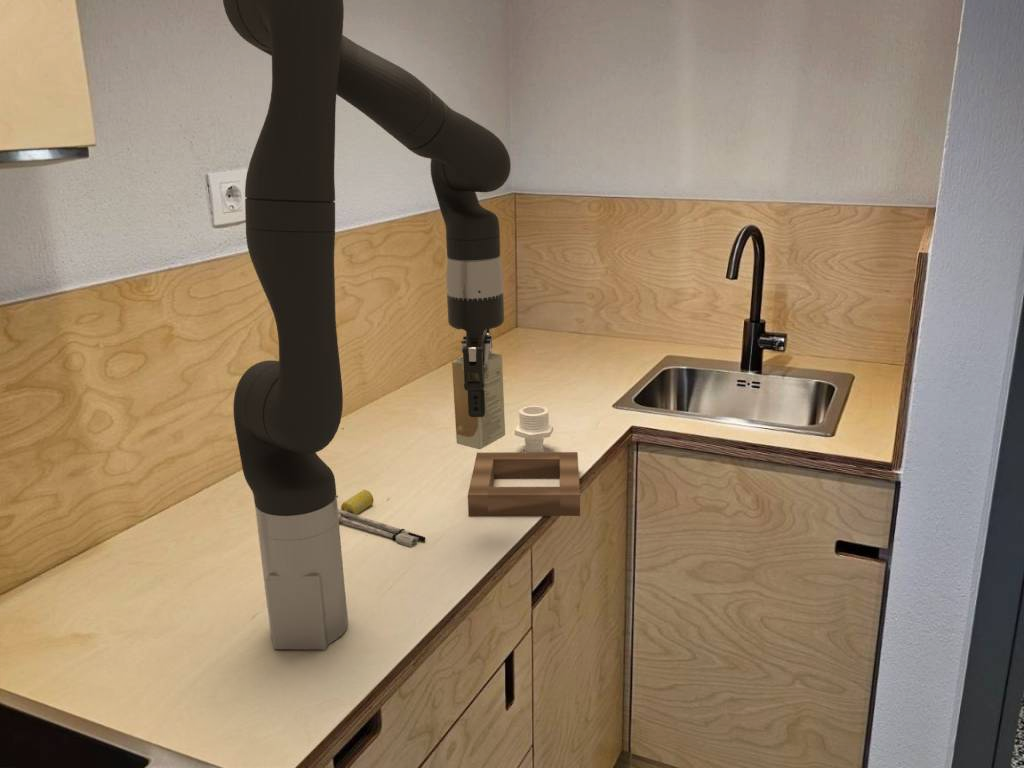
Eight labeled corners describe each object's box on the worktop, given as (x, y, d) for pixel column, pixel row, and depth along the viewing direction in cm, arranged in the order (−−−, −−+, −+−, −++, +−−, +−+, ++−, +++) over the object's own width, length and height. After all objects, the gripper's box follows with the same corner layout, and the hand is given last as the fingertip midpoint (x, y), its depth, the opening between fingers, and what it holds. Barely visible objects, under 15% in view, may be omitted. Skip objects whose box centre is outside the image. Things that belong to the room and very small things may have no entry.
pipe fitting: (559, 456, 159) (559, 413, 156) (521, 461, 157) (520, 418, 154) (547, 443, 164) (546, 402, 162) (510, 448, 162) (509, 407, 160)
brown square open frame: (580, 515, 136) (580, 494, 135) (468, 516, 137) (467, 495, 136) (577, 471, 152) (577, 452, 151) (477, 471, 153) (477, 452, 152)
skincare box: (482, 430, 130) (479, 349, 126) (506, 436, 127) (504, 353, 123) (454, 444, 125) (450, 360, 121) (478, 451, 122) (475, 365, 118)
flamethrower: (306, 485, 149) (261, 511, 141) (305, 471, 148) (259, 496, 140) (449, 528, 134) (407, 560, 126) (448, 513, 133) (406, 544, 125)
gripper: (499, 301, 112) (503, 424, 117) (506, 279, 126) (509, 390, 131) (440, 302, 113) (446, 425, 118) (452, 279, 126) (458, 390, 131)
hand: (479, 406), depth 124 cm, fingers closed on skincare box, 7 cm apart
